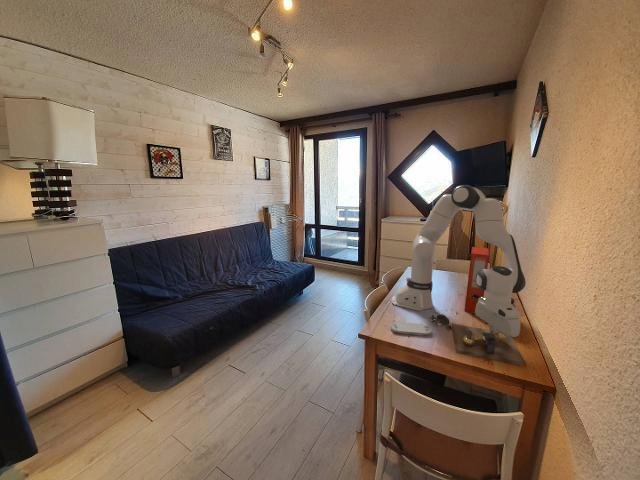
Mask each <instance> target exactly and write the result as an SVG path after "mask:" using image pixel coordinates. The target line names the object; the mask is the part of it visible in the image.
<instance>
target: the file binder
mask: <svg viewBox="0 0 640 480" xmlns="http://www.w3.org/2000/svg"><path fill="white" fill-rule="evenodd" d="M489 250H490V249H489V248H487V247H477V246H472V247H471V253H470V259H469V269H468V277H467V278H468V279H467V285H466V296H465V303H464V312H466V313H473V314H475V309H476V305H477V302H478V299H479V298H480V297H483V298H485V297H484V296H485V291H484V290H482V289H481V288H479V287H478V286H477V285H476V274H477V273H478V272H479V271H480V270H481V269H488V266H489V259H490V253H489Z"/></svg>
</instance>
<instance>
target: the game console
mask: <svg viewBox="0 0 640 480" xmlns="http://www.w3.org/2000/svg"><path fill="white" fill-rule="evenodd" d="M390 329H391V331H392V332H393V333H396V332H397V334H399V333H401V334H402V335H411V334H412V335H411V336H413V335H414V336H424V337H425V335H426V336H431V334H432V332H433V330H432V327H430V325H427V324H424V323H415V322H414V323H412V322H400V321H396V322H391V324H390ZM401 334H400V335H401Z"/></svg>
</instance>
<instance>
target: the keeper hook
mask: <svg viewBox="0 0 640 480" xmlns="http://www.w3.org/2000/svg"><path fill="white" fill-rule="evenodd" d="M482 336H483V339H484V342H485V344H486V348H485V350H486V353H488V354H493V355H494V350H495V346H498V342H497V340H496V337H495V335H494V334H490V333H484V332H483V334H482Z"/></svg>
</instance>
